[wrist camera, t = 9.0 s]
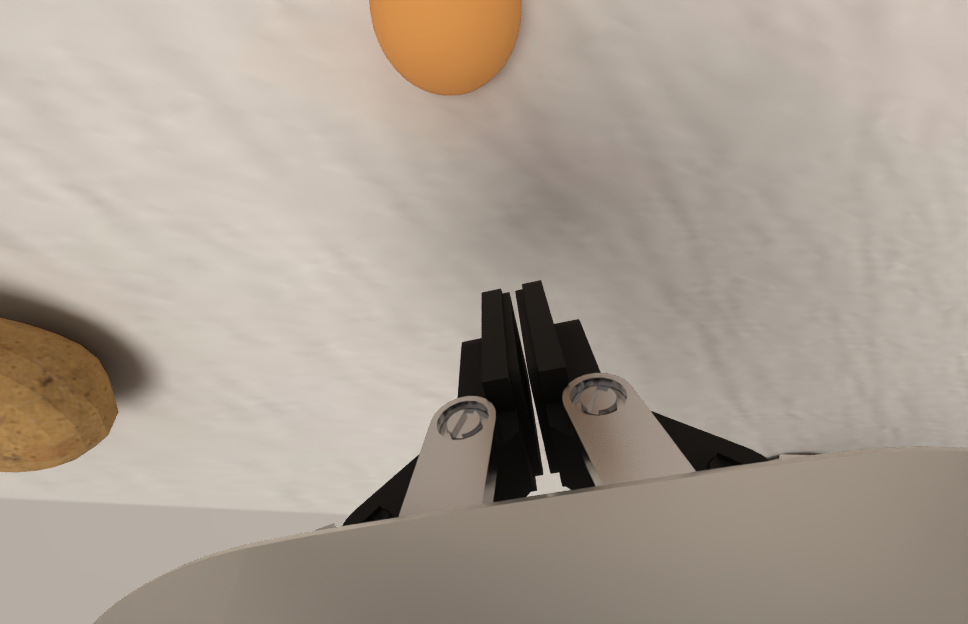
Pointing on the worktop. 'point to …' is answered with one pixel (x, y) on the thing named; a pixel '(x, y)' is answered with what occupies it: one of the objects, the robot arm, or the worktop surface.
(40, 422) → the potato
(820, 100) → the worktop surface
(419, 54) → the brown egg
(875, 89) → the worktop surface
